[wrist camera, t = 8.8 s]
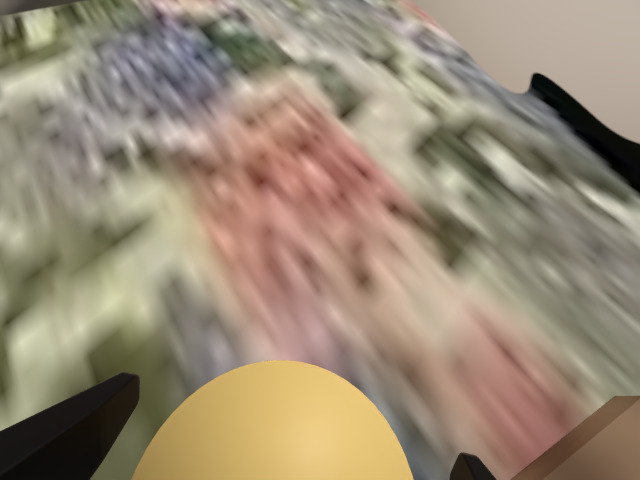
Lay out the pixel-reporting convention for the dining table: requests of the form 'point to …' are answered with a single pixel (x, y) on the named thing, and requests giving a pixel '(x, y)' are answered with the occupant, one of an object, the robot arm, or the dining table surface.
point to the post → (275, 430)
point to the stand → (595, 447)
